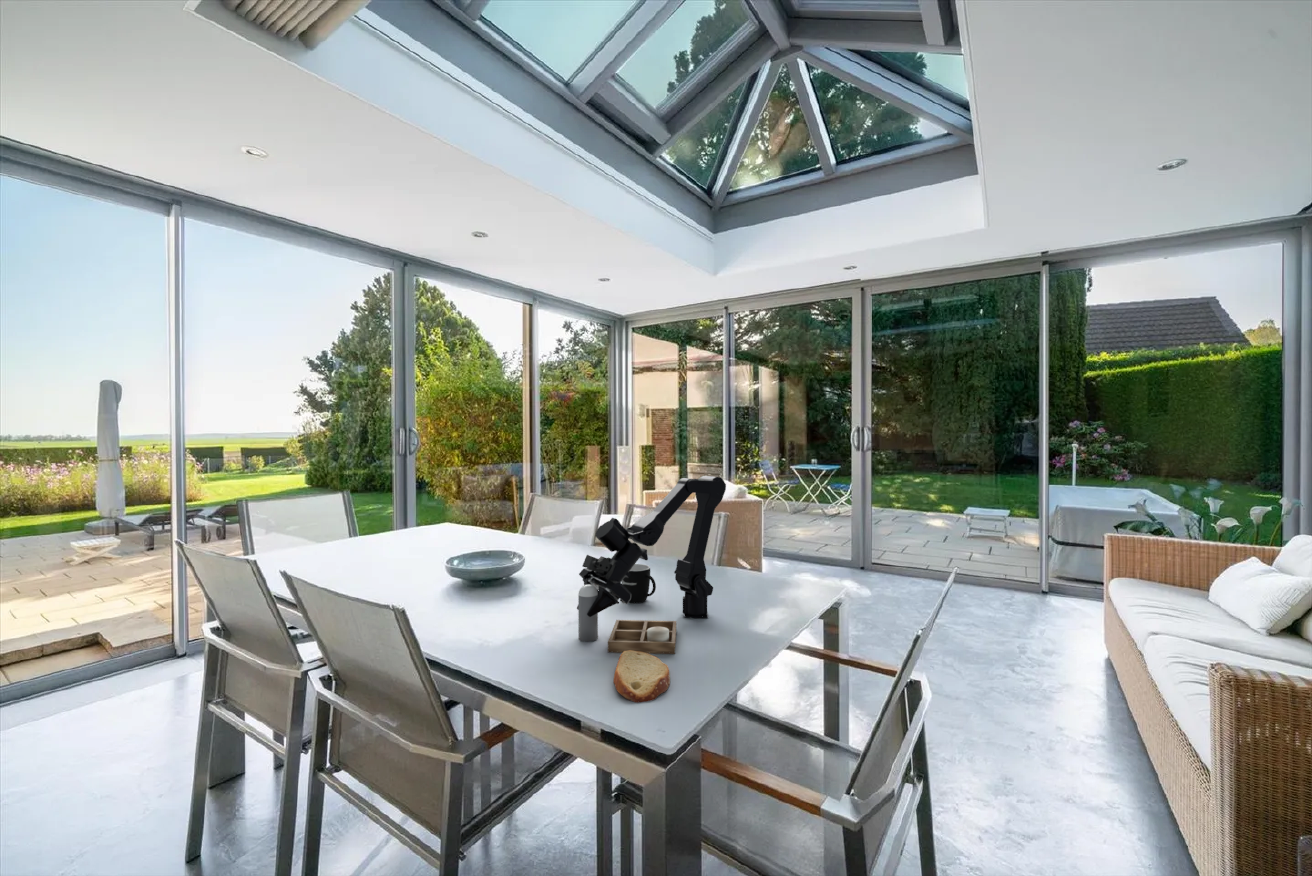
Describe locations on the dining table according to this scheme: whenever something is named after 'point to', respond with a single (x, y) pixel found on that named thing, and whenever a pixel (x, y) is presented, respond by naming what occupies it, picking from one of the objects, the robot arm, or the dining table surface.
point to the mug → (639, 583)
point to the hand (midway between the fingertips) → (583, 612)
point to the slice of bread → (641, 676)
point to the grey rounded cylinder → (586, 623)
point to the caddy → (643, 636)
